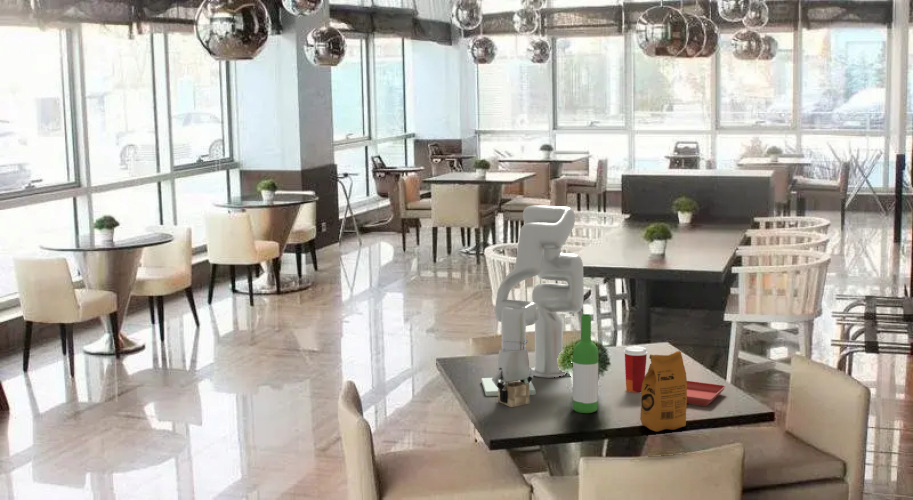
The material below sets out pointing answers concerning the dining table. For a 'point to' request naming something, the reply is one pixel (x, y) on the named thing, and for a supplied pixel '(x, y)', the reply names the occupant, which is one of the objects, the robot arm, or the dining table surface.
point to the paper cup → (635, 368)
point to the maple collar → (516, 394)
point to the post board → (493, 389)
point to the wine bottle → (585, 370)
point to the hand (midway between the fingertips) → (513, 399)
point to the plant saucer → (702, 392)
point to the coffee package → (664, 393)
